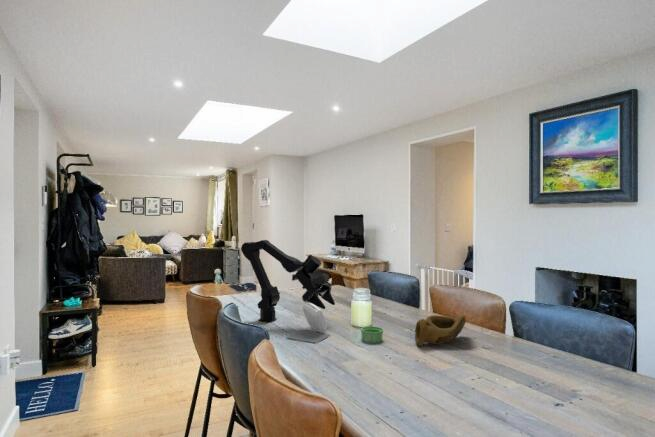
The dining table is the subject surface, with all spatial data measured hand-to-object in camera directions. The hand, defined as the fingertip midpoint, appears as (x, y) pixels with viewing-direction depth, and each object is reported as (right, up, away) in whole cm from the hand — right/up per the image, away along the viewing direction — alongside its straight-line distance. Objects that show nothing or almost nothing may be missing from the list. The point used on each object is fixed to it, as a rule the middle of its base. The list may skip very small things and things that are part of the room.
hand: (329, 306), depth 174 cm
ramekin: (+17, -10, -16) cm, 25 cm away
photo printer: (-5, -8, -4) cm, 10 cm away
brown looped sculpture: (+45, -10, -18) cm, 49 cm away
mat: (-9, -10, -13) cm, 18 cm away
